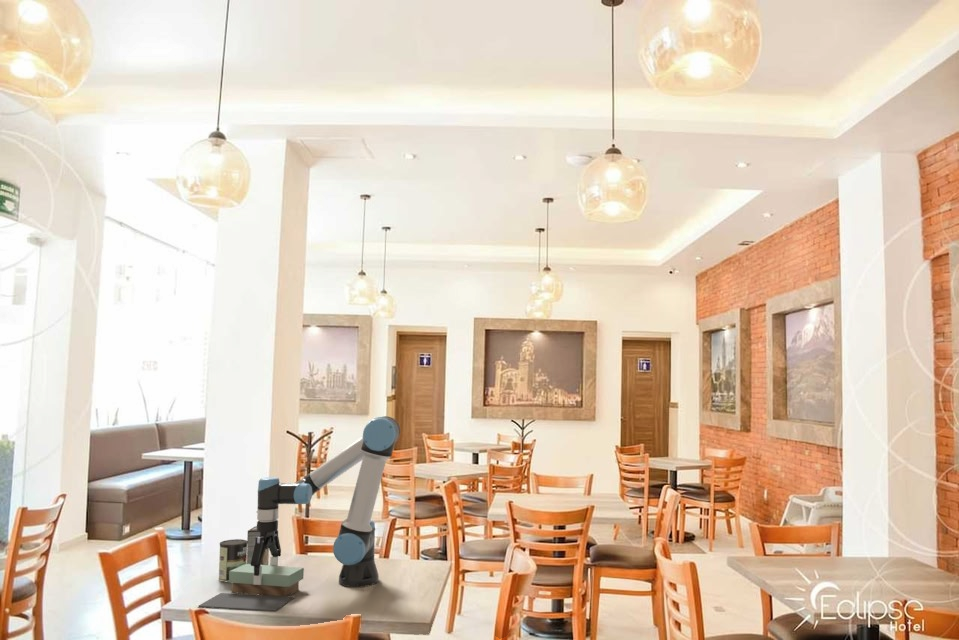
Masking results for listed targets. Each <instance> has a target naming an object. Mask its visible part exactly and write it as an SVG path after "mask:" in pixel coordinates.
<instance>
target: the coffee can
mask: <svg viewBox="0 0 959 640" xmlns="http://www.w3.org/2000/svg"><path fill="white" fill-rule="evenodd" d="M218 561H219V563H218V566H219V567H218V581H219V580H220V581H219V582H221V581H227V582H226V583H230V582H229V571H231V570H233V569H235V568H238V567H240V566H242V565H245V564H247V539H239V538H237V539H235V538H234V539H227V540H222V541H220V542H219V560H218Z"/></svg>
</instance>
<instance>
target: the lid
mask: <svg viewBox="0 0 959 640" xmlns="http://www.w3.org/2000/svg"><path fill="white" fill-rule="evenodd" d="M261 566H262V582H261V585H269V586H282V587H290V586H291V585H293V584H295V583H297V582H299V583H300V582H301V581H302V580H304V572H305V569H304V567H301V566H300V567H295V566H282V565H278V566H271V565H270V564H268V565H261ZM253 581H254V566H251V564H247V563H246V564H245V565H242V566H240V567H238V568H235V569H233V570H231V571H229V582H228V583H231V584H232V583H243V584H253Z"/></svg>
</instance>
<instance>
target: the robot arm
mask: <svg viewBox="0 0 959 640" xmlns="http://www.w3.org/2000/svg"><path fill="white" fill-rule="evenodd" d="M362 432H363V433H362V436H361V437H360V438H358V439H356V440H355V441H353V443H351V444H350V445H348V446H347V447H345V448H344V449H342V450H341V451H340V452H338V453H337V454H335V455H334V456H332V457H331V458H330V459H328V460H326V461H325V462H324V463H322V464H320V466H318V467H316V468H315V469H313V470H312V471H311V472H310V473H307V475H305V476H304V477H302V478H300V480H298V481H295V482H292V483H291V482H290V483H289V482H288V483H286V482H285V483H283V482H280V478H279V477H274V476H268V477H261V478H259V480H258V485H257V510H256V513H257V515H256V516H257V517H256V520H257V521H256V526H257V531H258V532H260V537H256V539H255V547H254V551H253V556H252V560H251V566H254V581H253V585H261V582H262V566H261V563H262V560H263V557H264V553H265V550H266V549H267V548H268V547H269V552H270V554H271V556H270V558H269V559H270V560H269V561H270V562H269V563H270V564H269V565H271V566H279V557H281V555H282V548H281V544H280V538H279V537H280V536H279V529H278V528H279V526H278V525H279V521H278V519H279V505H284V504H285V505H308V504H310V502H311V500H312V498H313V497H312V496H314V495H315V494H316V493H317V492H319V491H320V490H321V489H322V488H324V487H325V486H327V485H329V484H330V483H332V482H333V481H335V480H336V479H337V478H338V477H340V476H341V475H343V474H344V473H346V472H347V471H349V470H351V468H353V467H354V466H356V465H357V464H359V463H360V462H361V464H360V467H359V471H358V475H357V479H356V483H355V486H354V490H353V493H352V498H351V502H350V506H349V510H348V513H347V517H346V519H343V521H342V522H341V524H340V527H339V531H338V534H337V537H336V539H335V540H334V542H333V547H332V550H333V551H332V553H333V555H334V557H335V559H336V560H337V562H339V563H341V564H342V566H341V569H340V572H339V576H338V584H339V585H341V586H344V587H351V588H352V587H353V588H359V587H360V588H361V586H362V587H368V585H369V586H373V585H375V584H377V583H378V582H379V581H378V580H379V578H380V577H379V572H378V569H377V565H376V563H375V537H376V536H375V535H376V534H375V533H376V525H375V522H374V520H372V517H373V514H374V513H373V512H374V509H375V505H376V502H377V501H376V500H377V497H378V493H379V491H380V490H379V489H380V485H381V481H382V478H383V474H384V470H385V466H386V461H388V460H390V458H392V455H393V451H394V449H395V448H394V447H395V444H396V443H397V442H398V440H399V439H400V436H401V427H400V424H399V423H398V421H397V420H396V419H394V418H393V417H392V416H387V415H386V416H378V417H375V418H372V419H371V420H369V421H368V423H367V424H366V425H365V426H364V428H363V431H362ZM376 582H377V583H376ZM372 584H373V585H372Z"/></svg>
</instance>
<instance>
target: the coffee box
mask: <svg viewBox="0 0 959 640" xmlns="http://www.w3.org/2000/svg"><path fill="white" fill-rule="evenodd" d="M256 537H260V532H258V531H257V525H255V526H253V527H252V528H250V529H248V530H247V539H246V540H247V560H246V564H251V560H252V556H253V551H254V547H255V539H256ZM269 552H270V550H269V547H268V548H267V549H266V550H265V553H264V557H263V560H262V563H261V565H269V559H270V558H269V555H270V554H269Z"/></svg>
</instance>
